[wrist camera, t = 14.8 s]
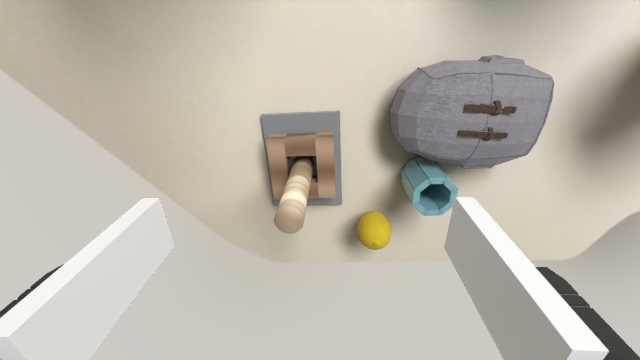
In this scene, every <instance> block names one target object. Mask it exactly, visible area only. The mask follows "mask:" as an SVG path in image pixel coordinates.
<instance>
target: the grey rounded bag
mask: <svg viewBox="0 0 640 360" xmlns="http://www.w3.org/2000/svg"><path fill="white" fill-rule="evenodd" d="M501 57H503V56H498V55H496V56H482V57H481V58H480V59H479V60H478V61H443V62H440V63H436V64H433V65H430V66H427V67H424V68H421V69H420V68H419V67H418V68H417V69H416V70H415V71H414V72H413V73H412V74H411V75H410V76H409V77H408V79H407V80H406V81H405V82H404V83H403V84H402V85H401V86H400V87H399V88H398V90H397V93H396V96H395V98H394V101H393V104H392V106H391V109H390V118H391V128H392V134H393V135H394V137H395V138H396V139H397V141H398V142H399V144H400V145H401V146H402V148H403V149H404V151H406V152H409V153H415V154H418V155H420V156H422V157H425V158H427V159H430V160H432V161H436V162H443V163H450V164H458V165H460V166H461V167H463V168H492V167H493V166H495V165H498V164H501V163H504V162H507V161H510V160H513V159H516V158H519V157H522V156H525V155H528V153H529V152H530V151H531V149H532V148H533V146H534V145H535V143H536V142H537V140H538V137H539V135H540V133H541V131H542V129H543V127H544V125H545V122H546V119H547V116H548V112H549V109H550V106H551V102H552V98H553V88H554V81H553V79H552V76H550V75H548V74H546V73H543V72H541V71H539V70H537V69H534V68H532V67H530V66H527V65H525V63H524V61H523V60H520V59H514V58H501Z"/></svg>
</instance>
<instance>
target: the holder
mask: <svg viewBox="0 0 640 360" xmlns="http://www.w3.org/2000/svg"><path fill="white" fill-rule="evenodd" d="M266 146H267V153H268V160H269V167H270V174H271V181H272V188H273V195H274V199H281V198H282V195H283V192H284V189H285V186H286V183H287V181H288V178H289V175H290V172H291V167H290V157H289V156H316V161H317V175H312V177H311V183H310V189H309V194H308V198H336V186H335V157H334V132H315V133H290V134H270V135H269V136H268V138H267V139H266Z"/></svg>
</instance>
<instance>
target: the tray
mask: <svg viewBox="0 0 640 360" xmlns="http://www.w3.org/2000/svg"><path fill="white" fill-rule="evenodd" d="M261 119H262V126H263V133H264V140H265V147H266V154H267V161H268V168H269V175H270V182H271V189H272V195H273V188H272V181H271V174H270V167H269V160H268V153H267V146H266V139H267V138H268V136H269V135H270V134H290V133H315V132H334V157H335V186H336V198H308V200H307V205H329V204H342V189H341V148H340V111H325V112H303V113H281V114H262V115H261ZM289 157H290V167H291V169H292V166H293V164H294V161H295V158H296V157H297V156H289ZM311 157H312V159H313V161H314V166H313V172H312V175H317V161H316V156H311ZM280 201H281V199H274V195H273V202H274V206H279V203H280Z"/></svg>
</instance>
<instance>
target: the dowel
mask: <svg viewBox="0 0 640 360" xmlns="http://www.w3.org/2000/svg"><path fill="white" fill-rule="evenodd" d="M313 166H314V161H313V159H312V157H311V156H297V157H296V158H295V161H294V164H293V166H292V169H291V172H290V175H289V178H288V181H287V183H286V186H285V189H284V192H283V195H282V198H281V201H280V203H279V206H278V209H277V212H276V215H275V218H274V222H275V225H276V227H277V228H278V229H279V230H281V231H282V232H285V233H295V232H297V231H299V230H300V229H301V228H302V226H303V223H304V217H305V211H306V206H307V200H308V194H309V189H310V183H311V177H312V172H313Z"/></svg>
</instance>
